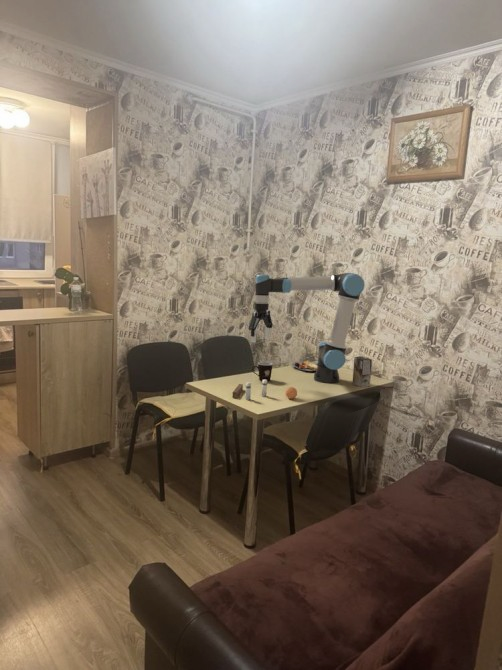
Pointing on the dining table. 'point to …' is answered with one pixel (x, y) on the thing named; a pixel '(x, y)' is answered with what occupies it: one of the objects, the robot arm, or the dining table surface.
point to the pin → (264, 388)
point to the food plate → (305, 365)
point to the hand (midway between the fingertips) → (260, 340)
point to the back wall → (237, 390)
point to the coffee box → (362, 371)
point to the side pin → (248, 390)
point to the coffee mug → (264, 370)
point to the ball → (291, 392)
